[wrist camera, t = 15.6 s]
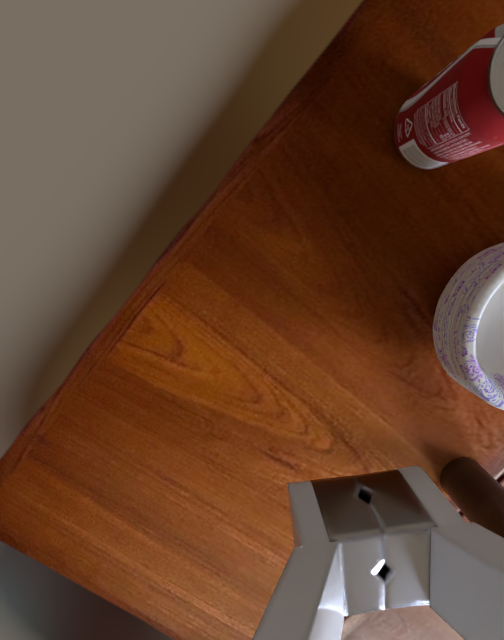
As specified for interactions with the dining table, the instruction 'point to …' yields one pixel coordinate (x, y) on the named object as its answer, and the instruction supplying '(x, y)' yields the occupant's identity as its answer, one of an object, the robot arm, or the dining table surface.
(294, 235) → the dining table surface
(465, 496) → the pepper mill
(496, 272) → the paper bowls
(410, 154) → the soda can
